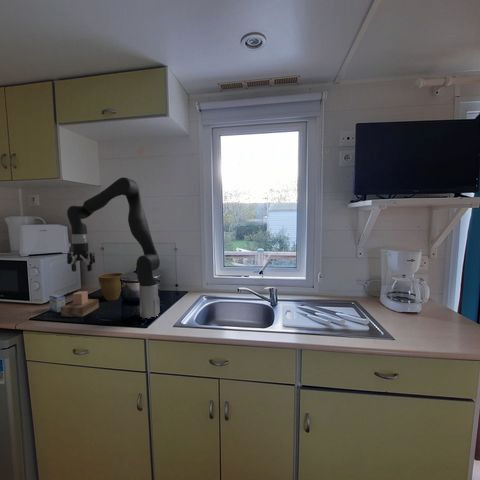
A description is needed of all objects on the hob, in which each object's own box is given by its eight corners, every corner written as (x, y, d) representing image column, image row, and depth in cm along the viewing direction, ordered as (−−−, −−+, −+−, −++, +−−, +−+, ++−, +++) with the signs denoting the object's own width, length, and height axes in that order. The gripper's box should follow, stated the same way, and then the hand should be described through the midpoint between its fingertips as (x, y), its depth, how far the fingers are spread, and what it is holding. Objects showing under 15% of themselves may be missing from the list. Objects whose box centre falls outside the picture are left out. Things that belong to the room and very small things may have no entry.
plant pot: (129, 298, 162) (128, 274, 161) (105, 304, 150) (104, 278, 149) (118, 294, 171) (117, 271, 170) (95, 299, 159) (94, 275, 158)
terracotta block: (88, 301, 140) (87, 291, 139) (82, 304, 135) (81, 294, 134) (79, 301, 140) (78, 291, 140) (73, 304, 135) (72, 293, 135)
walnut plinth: (98, 307, 145) (98, 299, 144) (82, 316, 131) (82, 307, 130) (79, 307, 145) (78, 298, 145) (61, 316, 131) (60, 307, 131)
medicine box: (49, 310, 140) (48, 295, 140) (58, 307, 144) (57, 293, 144) (57, 312, 137) (56, 297, 136) (65, 310, 141) (65, 295, 140)
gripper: (96, 241, 139) (98, 269, 140) (72, 241, 139) (74, 270, 140) (88, 242, 131) (90, 272, 132) (62, 243, 132) (64, 272, 133)
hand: (81, 271), depth 136 cm, fingers open, 8 cm apart
